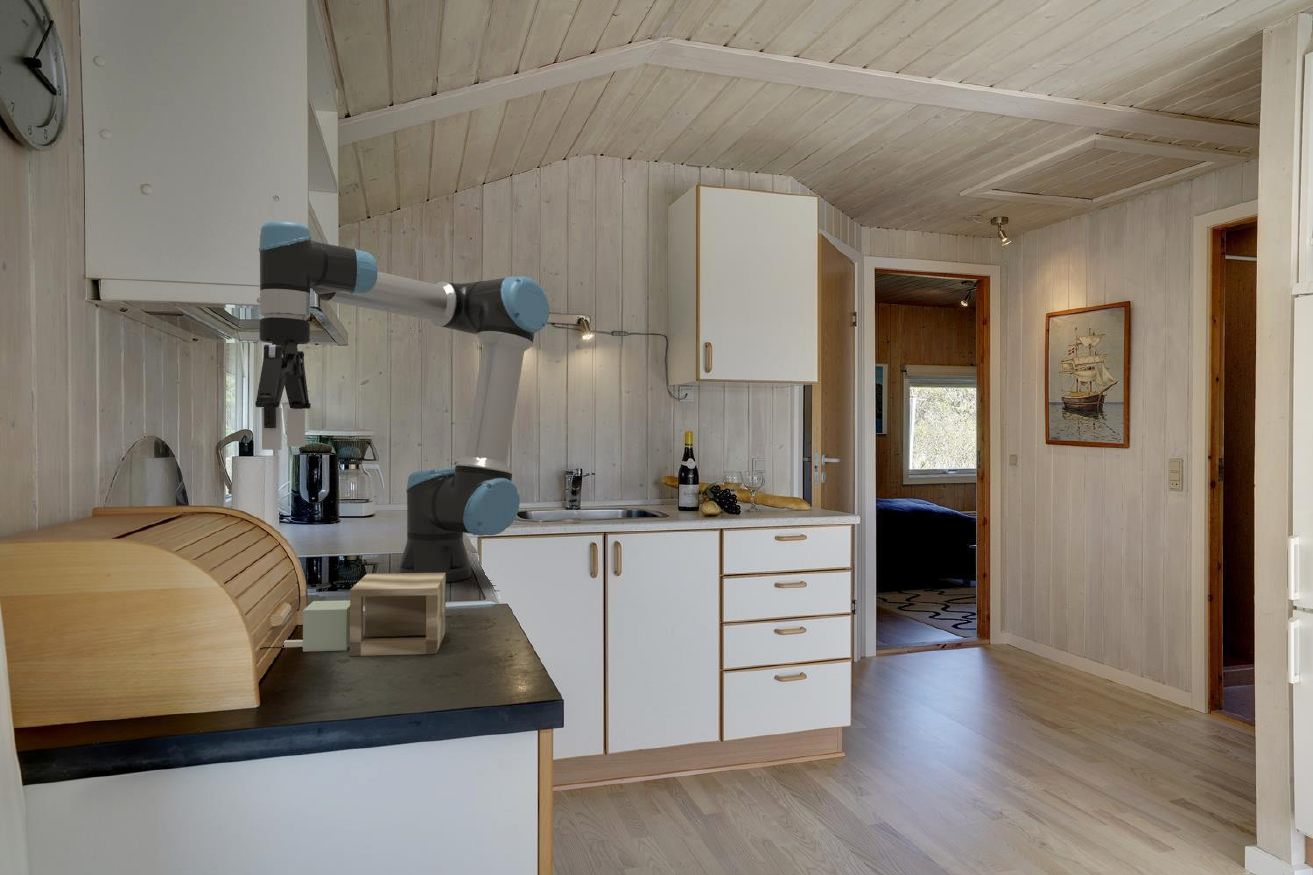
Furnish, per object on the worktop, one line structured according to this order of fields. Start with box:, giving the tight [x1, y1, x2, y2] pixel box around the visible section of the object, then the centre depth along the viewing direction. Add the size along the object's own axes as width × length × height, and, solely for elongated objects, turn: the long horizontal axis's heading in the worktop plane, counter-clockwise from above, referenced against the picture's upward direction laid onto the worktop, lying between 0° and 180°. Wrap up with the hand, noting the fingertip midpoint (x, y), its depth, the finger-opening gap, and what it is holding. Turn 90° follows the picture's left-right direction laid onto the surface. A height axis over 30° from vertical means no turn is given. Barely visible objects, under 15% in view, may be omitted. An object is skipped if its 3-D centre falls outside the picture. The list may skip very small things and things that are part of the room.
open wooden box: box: [349, 572, 447, 657], centre depth 124 cm, size 12×12×10 cm
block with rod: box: [283, 599, 350, 652], centre depth 122 cm, size 6×15×11 cm, turn 99°
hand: (284, 448), depth 135 cm, fingers open, 13 cm apart
